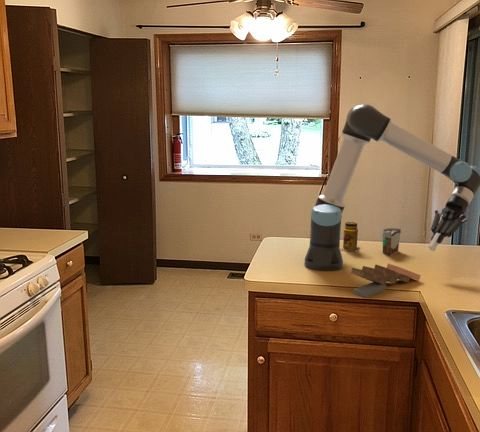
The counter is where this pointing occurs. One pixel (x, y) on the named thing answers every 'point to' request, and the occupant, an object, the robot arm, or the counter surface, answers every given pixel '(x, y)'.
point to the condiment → (350, 237)
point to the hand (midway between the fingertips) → (431, 248)
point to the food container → (390, 240)
